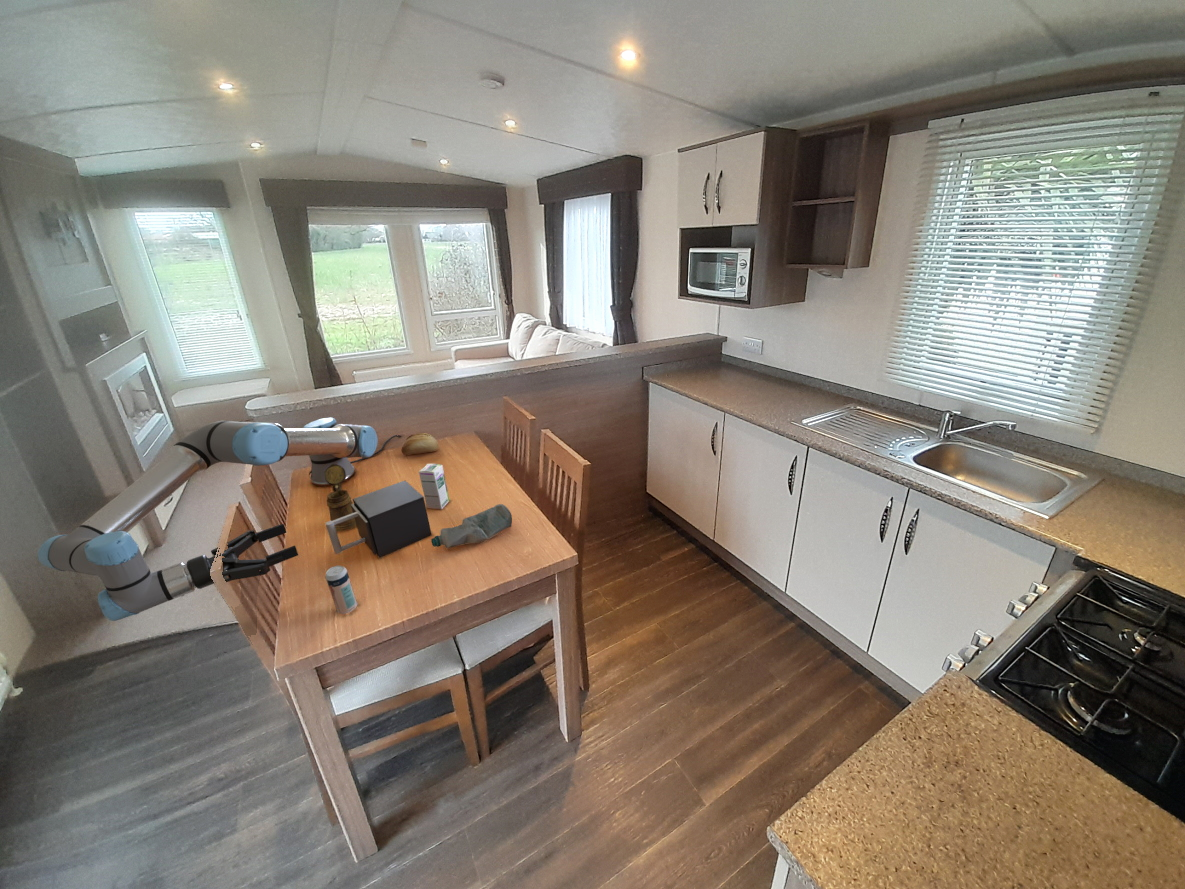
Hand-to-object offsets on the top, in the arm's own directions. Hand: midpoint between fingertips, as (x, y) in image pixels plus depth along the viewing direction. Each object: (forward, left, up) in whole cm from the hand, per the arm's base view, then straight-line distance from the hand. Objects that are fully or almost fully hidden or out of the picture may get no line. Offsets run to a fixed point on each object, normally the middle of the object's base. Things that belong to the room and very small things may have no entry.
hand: (290, 538), depth 127 cm
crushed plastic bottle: (-24, +40, -13) cm, 48 cm away
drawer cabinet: (-21, +16, -13) cm, 29 cm away
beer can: (+9, +20, -13) cm, 26 cm away
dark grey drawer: (-16, +13, -11) cm, 24 cm away
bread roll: (-78, -7, -13) cm, 79 cm away
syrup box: (-40, +20, -13) cm, 46 cm away
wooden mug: (-27, -6, -13) cm, 30 cm away
